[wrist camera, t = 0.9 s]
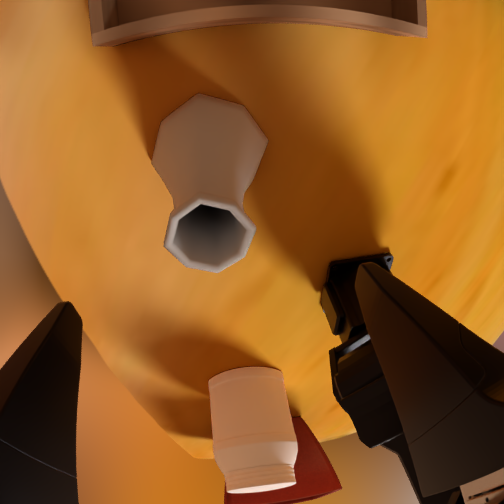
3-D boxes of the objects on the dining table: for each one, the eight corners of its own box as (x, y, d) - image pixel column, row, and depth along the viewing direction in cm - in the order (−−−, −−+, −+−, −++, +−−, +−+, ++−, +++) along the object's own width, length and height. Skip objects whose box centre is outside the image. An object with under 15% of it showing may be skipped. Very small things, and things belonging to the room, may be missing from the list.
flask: (134, 165, 18) (84, 262, 10) (194, 73, 15) (176, 93, 7) (222, 215, 22) (232, 326, 14) (287, 137, 18) (347, 215, 11)
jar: (204, 370, 34) (213, 488, 23) (282, 361, 35) (308, 476, 23) (217, 405, 41) (226, 495, 30) (279, 397, 42) (297, 486, 30)
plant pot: (215, 417, 45) (224, 508, 32) (322, 405, 48) (344, 488, 34) (218, 444, 57) (226, 511, 43) (301, 435, 59) (315, 499, 46)
